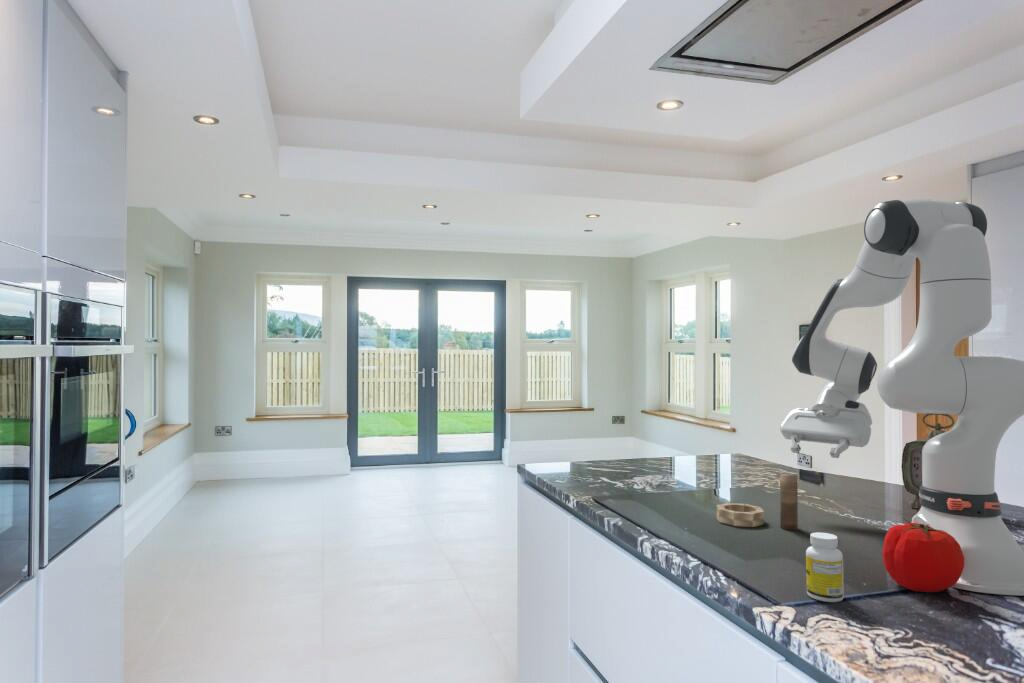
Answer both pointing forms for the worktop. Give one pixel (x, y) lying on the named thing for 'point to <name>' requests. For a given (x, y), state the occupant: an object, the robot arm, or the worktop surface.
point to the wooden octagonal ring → (740, 514)
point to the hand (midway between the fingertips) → (813, 453)
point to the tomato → (922, 557)
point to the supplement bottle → (824, 568)
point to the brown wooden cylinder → (788, 501)
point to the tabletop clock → (917, 459)
